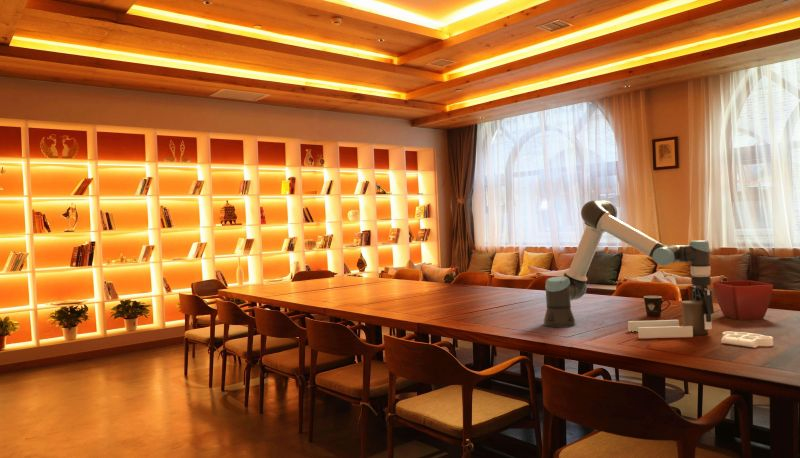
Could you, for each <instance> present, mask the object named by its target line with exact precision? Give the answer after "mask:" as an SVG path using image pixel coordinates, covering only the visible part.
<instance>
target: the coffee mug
mask: <svg viewBox="0 0 800 458" xmlns="http://www.w3.org/2000/svg"><path fill="white" fill-rule="evenodd" d="M643 301H644V306H645V312H646V317H648V318H661V314H662V312H663V311H665V310H667V309H668V308H669V307H670V306H671V303H670V301H669V300H667V299H663V297H662V296H659V295H644V296H643ZM664 302H667V303H668V305H667V306H666V307H664V308H663V309H662V304H663V303H664Z"/></svg>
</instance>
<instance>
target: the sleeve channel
mask: <svg viewBox="0 0 800 458" xmlns="http://www.w3.org/2000/svg"><path fill="white" fill-rule="evenodd" d="M627 331H628V332H629V333H631V331H632V332H634V331H636V332H635V333H637V332H638V333H637V335H638V339H658V338H660V339H664V338H665V339H667V338H670V339H671V338H693V337H694V335H693V326H683V325H681V326H680V320H679V319H665V320H664V319H660V320H656V319H655V320H630V321H629V320H628V321H627Z"/></svg>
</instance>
